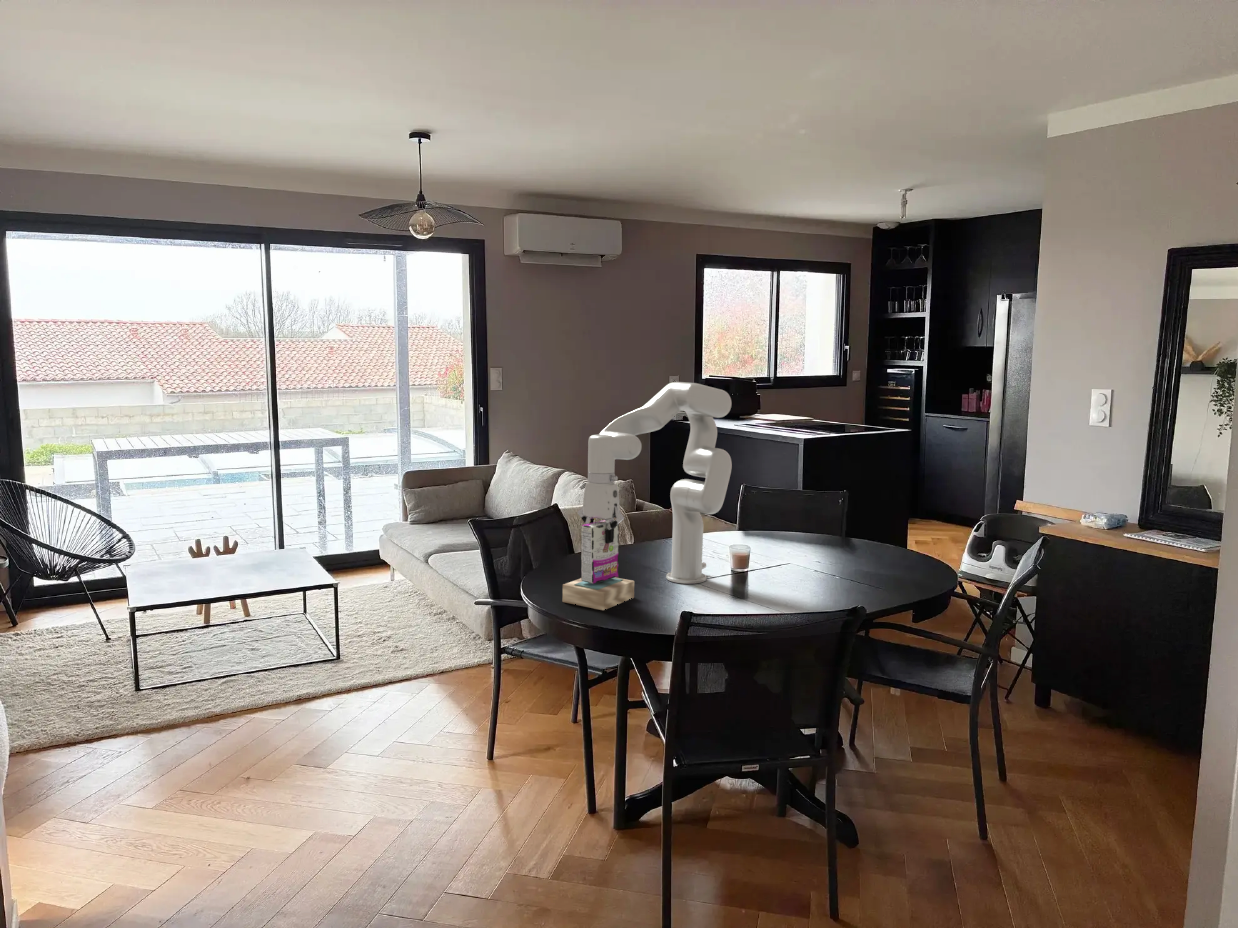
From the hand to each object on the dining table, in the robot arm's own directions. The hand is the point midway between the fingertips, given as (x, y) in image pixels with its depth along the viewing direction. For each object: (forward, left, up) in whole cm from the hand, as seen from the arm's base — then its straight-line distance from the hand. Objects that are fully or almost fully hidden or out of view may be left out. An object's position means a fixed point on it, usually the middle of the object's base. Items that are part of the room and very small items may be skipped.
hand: (600, 540), depth 263 cm
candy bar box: (0, 0, -11) cm, 11 cm away
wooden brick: (0, 0, -17) cm, 17 cm away
